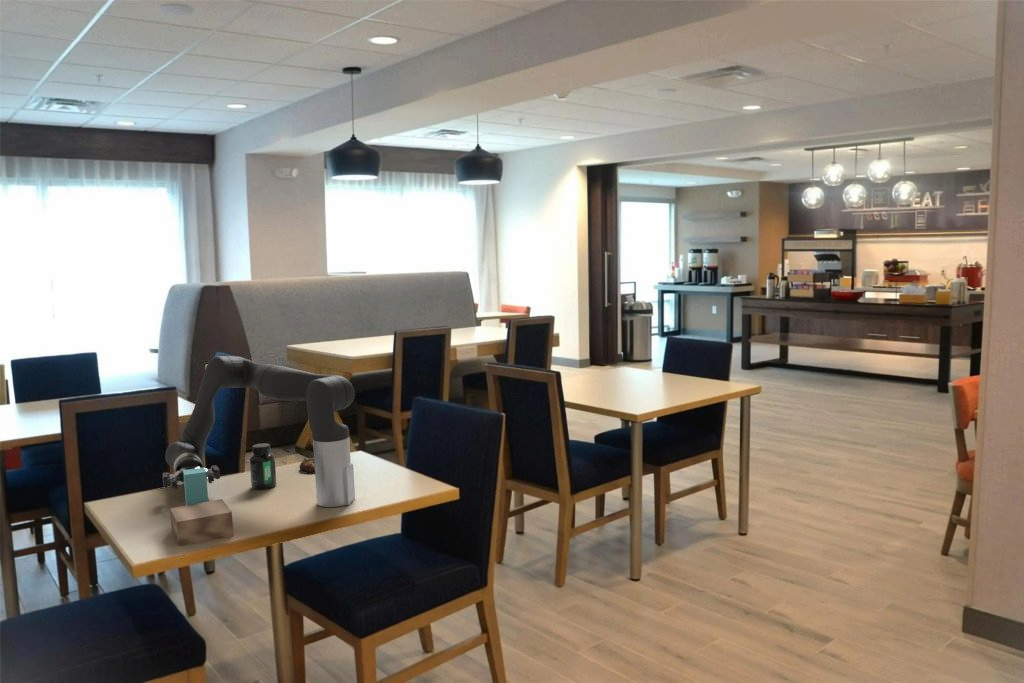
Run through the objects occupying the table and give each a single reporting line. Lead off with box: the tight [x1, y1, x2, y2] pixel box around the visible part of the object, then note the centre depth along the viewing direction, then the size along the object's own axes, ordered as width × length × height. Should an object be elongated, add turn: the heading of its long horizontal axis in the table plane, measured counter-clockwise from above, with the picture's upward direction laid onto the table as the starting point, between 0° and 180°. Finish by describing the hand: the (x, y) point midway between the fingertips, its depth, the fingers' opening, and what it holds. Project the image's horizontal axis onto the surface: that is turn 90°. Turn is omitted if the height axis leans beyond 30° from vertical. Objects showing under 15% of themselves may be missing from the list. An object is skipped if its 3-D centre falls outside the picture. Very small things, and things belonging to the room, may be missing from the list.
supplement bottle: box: [249, 442, 277, 491], centre depth 227 cm, size 7×7×12 cm
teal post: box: [183, 466, 209, 506], centre depth 202 cm, size 5×5×12 cm
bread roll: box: [299, 454, 315, 474], centre depth 245 cm, size 11×11×5 cm
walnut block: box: [169, 498, 235, 547], centre depth 191 cm, size 12×12×6 cm
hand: (193, 482), depth 211 cm, fingers open, 8 cm apart
